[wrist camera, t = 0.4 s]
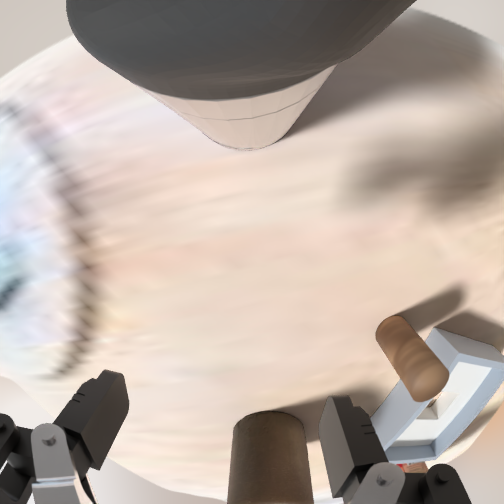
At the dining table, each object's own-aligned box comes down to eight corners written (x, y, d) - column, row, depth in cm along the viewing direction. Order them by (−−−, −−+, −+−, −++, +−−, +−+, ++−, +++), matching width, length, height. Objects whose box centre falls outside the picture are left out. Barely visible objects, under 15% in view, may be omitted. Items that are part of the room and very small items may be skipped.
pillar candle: (238, 406, 32) (228, 510, 17) (313, 413, 32) (330, 511, 17) (229, 446, 34) (220, 532, 20) (294, 451, 34) (301, 534, 20)
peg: (386, 311, 28) (430, 364, 18) (411, 320, 28) (456, 369, 18) (369, 341, 29) (403, 400, 19) (395, 348, 29) (431, 403, 19)
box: (433, 327, 28) (458, 352, 22) (492, 345, 29) (513, 365, 24) (354, 435, 33) (363, 465, 28) (423, 436, 35) (435, 459, 29)
